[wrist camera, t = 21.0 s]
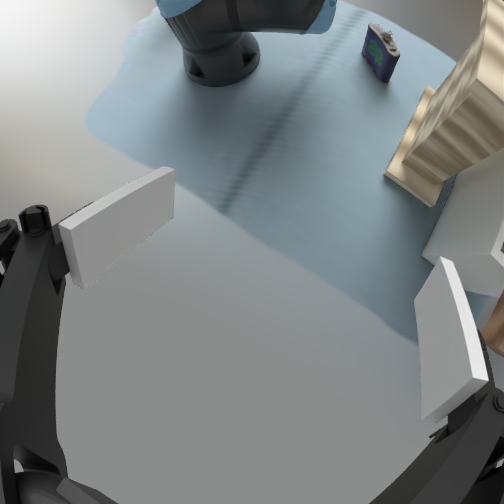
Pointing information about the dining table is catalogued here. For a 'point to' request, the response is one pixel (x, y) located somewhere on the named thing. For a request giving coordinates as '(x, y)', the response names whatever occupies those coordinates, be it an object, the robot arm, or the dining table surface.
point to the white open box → (474, 227)
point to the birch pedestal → (456, 116)
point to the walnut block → (496, 328)
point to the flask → (380, 52)
